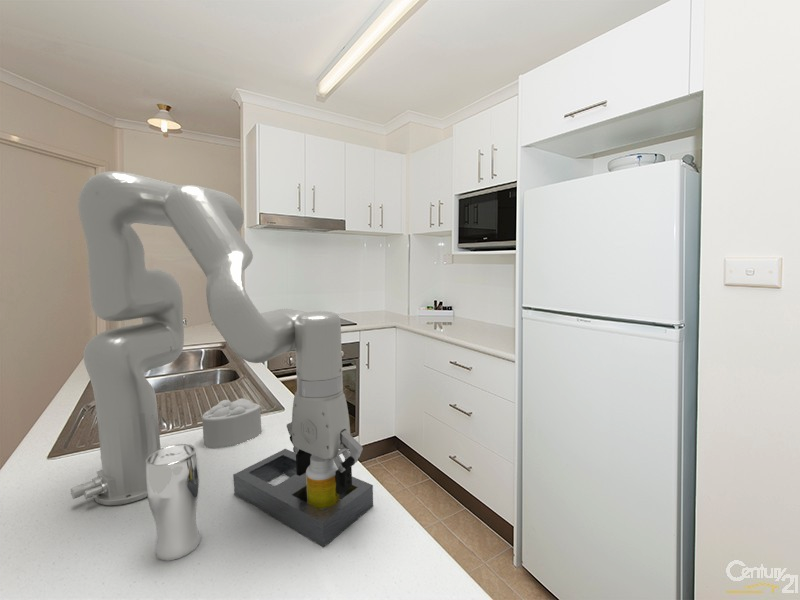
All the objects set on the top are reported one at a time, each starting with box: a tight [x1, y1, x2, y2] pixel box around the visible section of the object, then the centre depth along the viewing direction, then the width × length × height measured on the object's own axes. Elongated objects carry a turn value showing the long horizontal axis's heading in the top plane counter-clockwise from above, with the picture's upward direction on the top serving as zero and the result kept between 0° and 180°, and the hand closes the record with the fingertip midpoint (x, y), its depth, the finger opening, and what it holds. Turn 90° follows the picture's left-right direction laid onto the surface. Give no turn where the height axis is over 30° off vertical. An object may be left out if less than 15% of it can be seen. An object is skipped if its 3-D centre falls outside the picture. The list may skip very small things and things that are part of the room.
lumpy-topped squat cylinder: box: [201, 397, 263, 449], centre depth 97 cm, size 10×13×9 cm
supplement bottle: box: [306, 455, 340, 512], centre depth 67 cm, size 6×6×10 cm
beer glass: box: [146, 443, 201, 562], centre depth 59 cm, size 7×7×15 cm
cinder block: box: [233, 448, 374, 548], centre depth 71 cm, size 12×24×4 cm, turn 55°
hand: (323, 480), depth 67 cm, fingers open, 9 cm apart
